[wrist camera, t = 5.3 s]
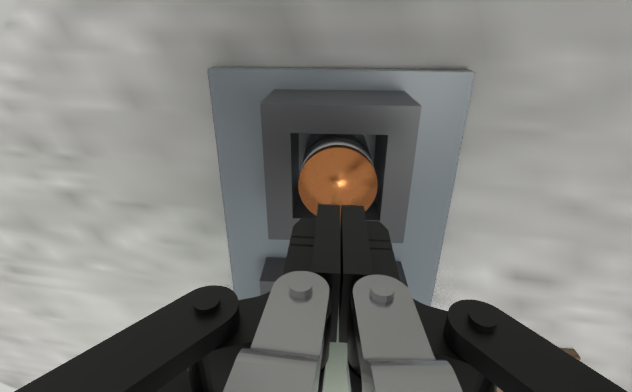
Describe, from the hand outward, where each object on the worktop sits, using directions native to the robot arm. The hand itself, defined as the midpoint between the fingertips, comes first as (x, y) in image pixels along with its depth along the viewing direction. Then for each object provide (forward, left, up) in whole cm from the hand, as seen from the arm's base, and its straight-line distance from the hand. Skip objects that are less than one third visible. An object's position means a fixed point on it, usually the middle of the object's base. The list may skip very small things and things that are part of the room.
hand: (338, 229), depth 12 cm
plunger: (0, 0, -9) cm, 9 cm away
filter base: (+8, 0, -10) cm, 13 cm away
